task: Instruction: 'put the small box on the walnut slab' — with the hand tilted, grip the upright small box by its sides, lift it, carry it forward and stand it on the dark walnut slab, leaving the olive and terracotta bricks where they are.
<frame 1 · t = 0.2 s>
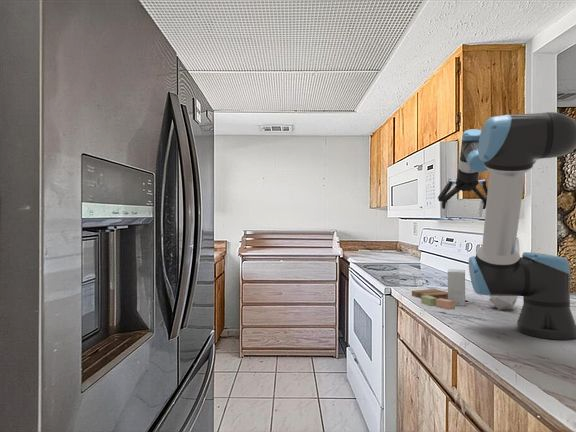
hand: (462, 215, 169), 35 cm above the table, tool tilted 35°, fingers open, 13 cm apart
small box: (456, 304, 159), on the table
terracotta brick: (445, 308, 153), on the table
walnut slab: (432, 296, 172), on the table
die: (503, 309, 150), on the table
olive brick: (429, 304, 159), on the table
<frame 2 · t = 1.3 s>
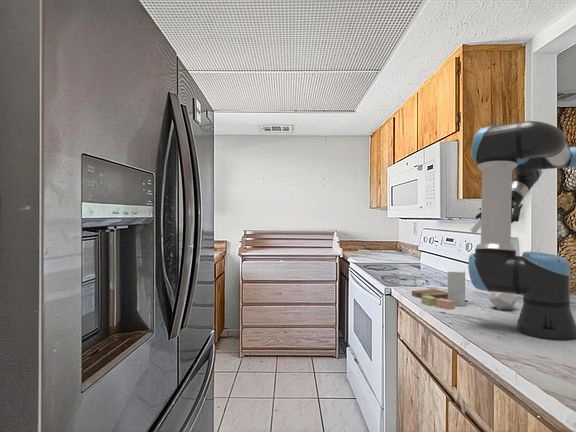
hand: (484, 232, 162), 28 cm above the table, tool tilted 45°, fingers open, 13 cm apart
nothing on the table moved.
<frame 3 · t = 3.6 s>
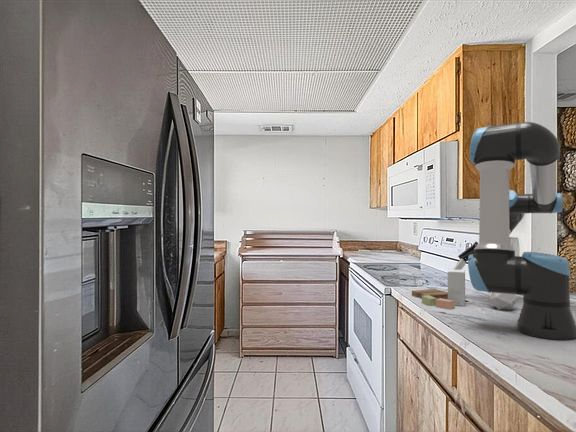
hand: (466, 274, 162), 11 cm above the table, tool tilted 45°, fingers open, 13 cm apart
nothing on the table moved.
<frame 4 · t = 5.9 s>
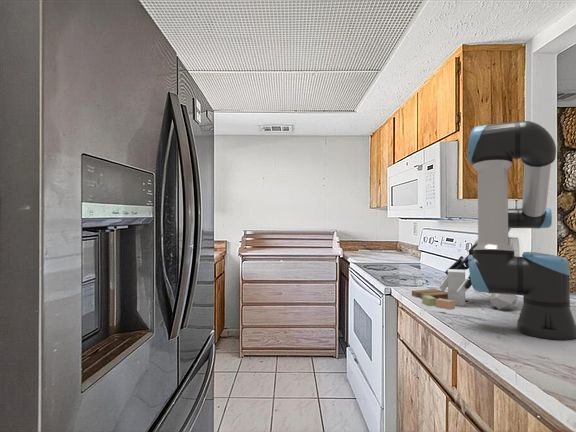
hand: (450, 291, 158), 5 cm above the table, tool tilted 45°, fingers closed on small box, 10 cm apart
small box: (456, 303, 159), on the table, touching gripper
everything else where it was.
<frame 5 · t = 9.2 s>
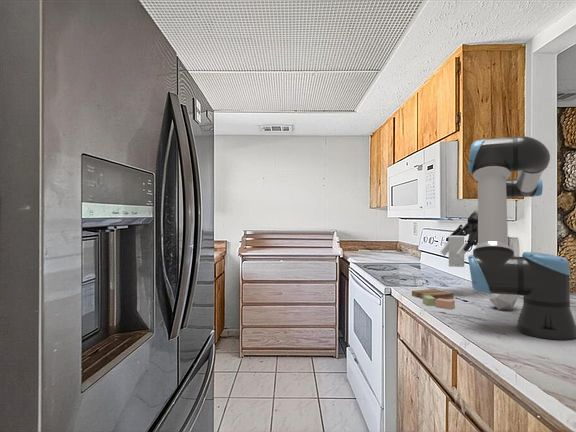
hand: (450, 254, 175), 18 cm above the table, tool tilted 45°, fingers closed on small box, 10 cm apart
small box: (456, 266, 176), point 12 cm above the table, touching gripper
everything else where it was.
when the fingers open (8 cm above the table, at t = 12.5 s): small box drops 1 cm, resting on walnut slab.
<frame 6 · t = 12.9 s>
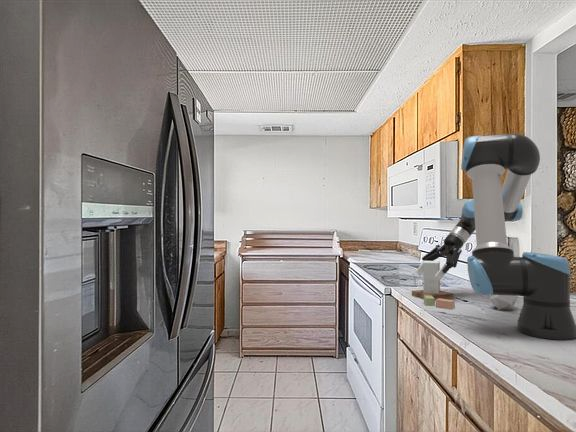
hand: (427, 275, 172), 9 cm above the table, tool tilted 45°, fingers open, 13 cm apart
small box: (431, 292, 173), point 2 cm above the table, touching walnut slab
everything else where it was.
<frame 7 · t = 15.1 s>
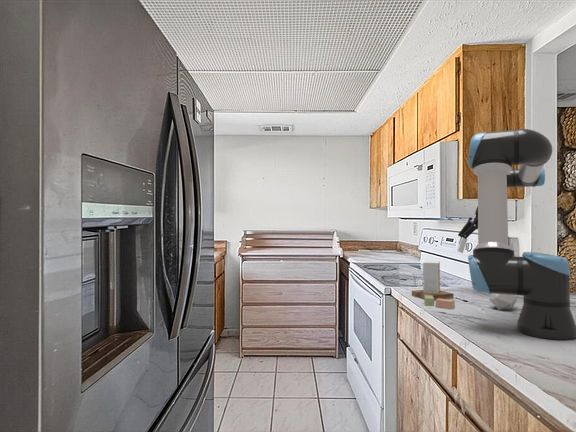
hand: (471, 252, 174), 18 cm above the table, tool tilted 25°, fingers open, 13 cm apart
nothing on the table moved.
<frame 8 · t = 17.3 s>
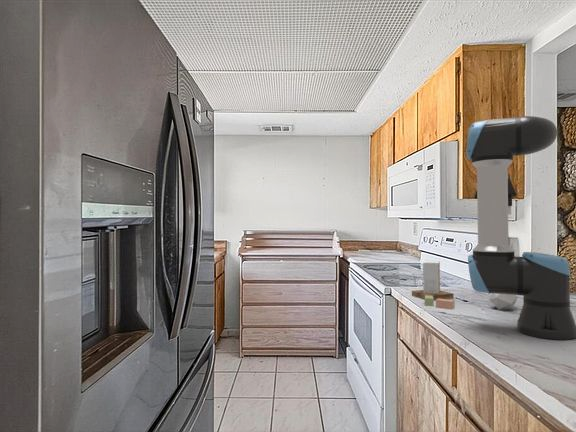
hand: (494, 214, 170), 35 cm above the table, tool pointing down, fingers open, 13 cm apart
nothing on the table moved.
at the end: small box inside the target area on the walnut slab (0.2 cm from its centre), point 1.8 cm above the walnut slab's base; small box tilted 0°; olive brick moved 0.2 cm from its start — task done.
